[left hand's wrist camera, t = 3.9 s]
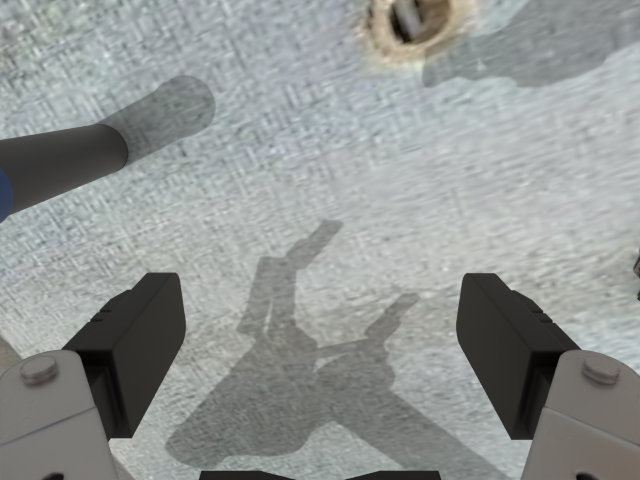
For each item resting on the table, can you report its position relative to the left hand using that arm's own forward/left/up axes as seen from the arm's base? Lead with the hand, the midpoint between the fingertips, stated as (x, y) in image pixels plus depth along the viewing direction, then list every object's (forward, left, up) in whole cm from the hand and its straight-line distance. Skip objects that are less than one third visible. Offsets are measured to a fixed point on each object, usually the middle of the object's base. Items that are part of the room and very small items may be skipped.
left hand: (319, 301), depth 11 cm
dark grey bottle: (0, -21, -29) cm, 36 cm away
